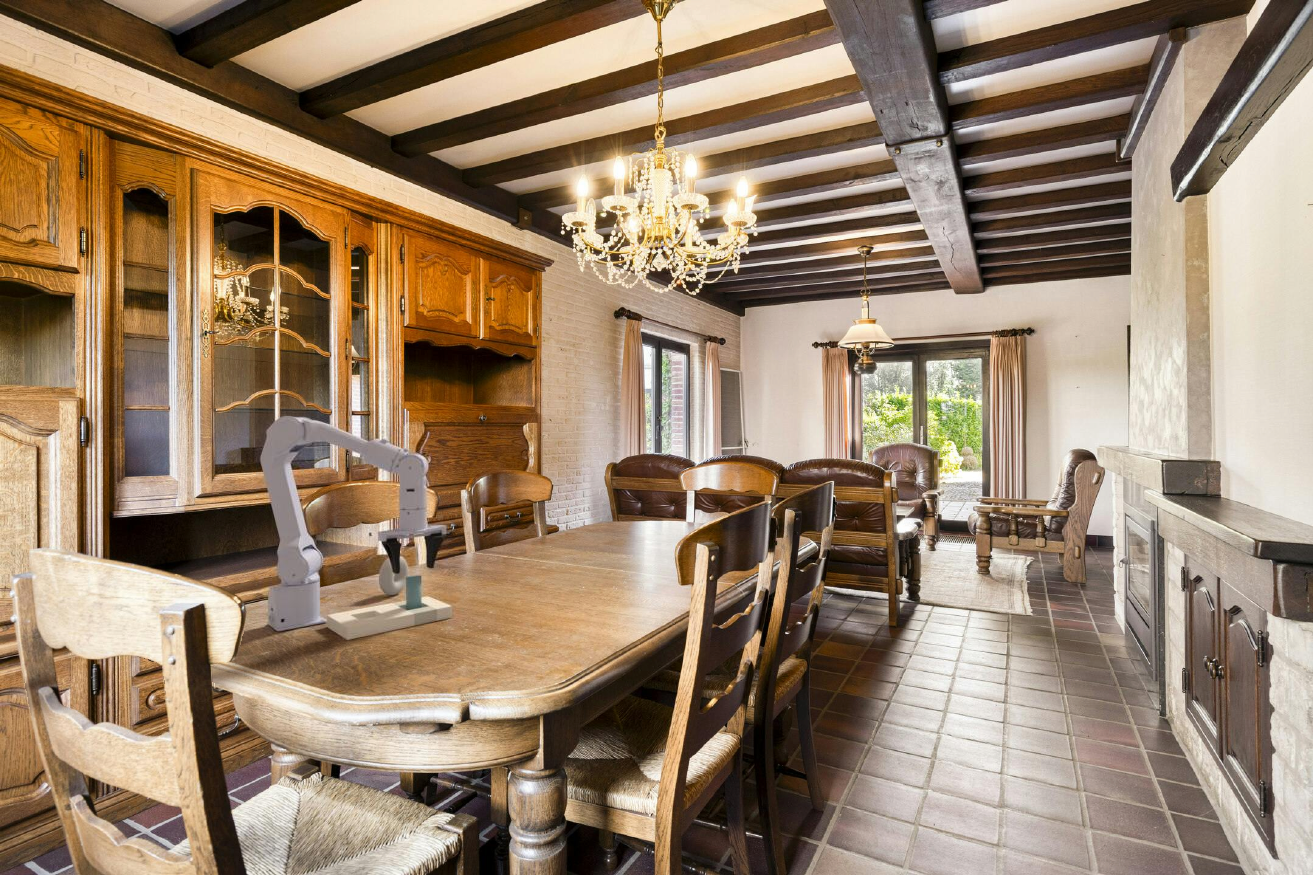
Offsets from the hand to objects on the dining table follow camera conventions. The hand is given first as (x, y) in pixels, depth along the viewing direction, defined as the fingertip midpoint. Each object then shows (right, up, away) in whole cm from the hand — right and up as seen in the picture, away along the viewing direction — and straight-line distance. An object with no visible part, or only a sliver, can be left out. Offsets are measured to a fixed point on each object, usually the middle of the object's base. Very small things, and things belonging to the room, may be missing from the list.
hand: (413, 570), depth 143 cm
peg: (0, -10, 0) cm, 10 cm away
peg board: (-4, -10, -3) cm, 12 cm away
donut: (-12, -10, +20) cm, 26 cm away
